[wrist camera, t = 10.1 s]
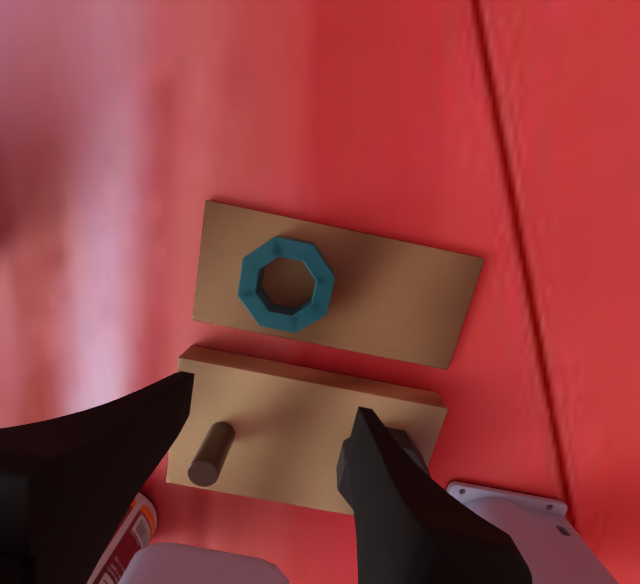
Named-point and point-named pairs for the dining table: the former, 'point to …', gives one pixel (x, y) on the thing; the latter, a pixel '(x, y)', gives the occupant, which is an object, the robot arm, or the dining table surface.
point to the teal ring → (280, 314)
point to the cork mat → (340, 286)
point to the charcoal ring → (342, 464)
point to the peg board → (284, 427)
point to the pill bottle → (126, 541)
